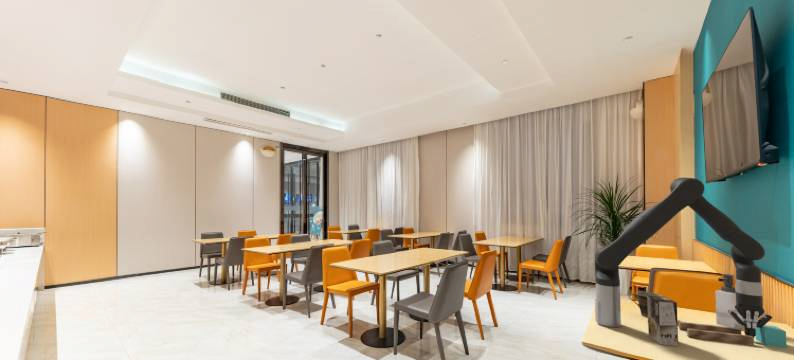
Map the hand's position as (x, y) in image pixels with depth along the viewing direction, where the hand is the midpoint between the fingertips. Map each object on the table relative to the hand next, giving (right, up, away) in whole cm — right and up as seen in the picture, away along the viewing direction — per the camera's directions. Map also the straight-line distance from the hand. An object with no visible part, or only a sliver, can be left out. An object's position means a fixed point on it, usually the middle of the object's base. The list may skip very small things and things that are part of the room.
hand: (750, 337), depth 136 cm
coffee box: (-35, -1, -1) cm, 35 cm away
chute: (-10, -2, +4) cm, 11 cm away
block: (+6, -1, -2) cm, 6 cm away
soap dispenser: (+7, -3, +16) cm, 18 cm away
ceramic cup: (-20, -3, +29) cm, 35 cm away
